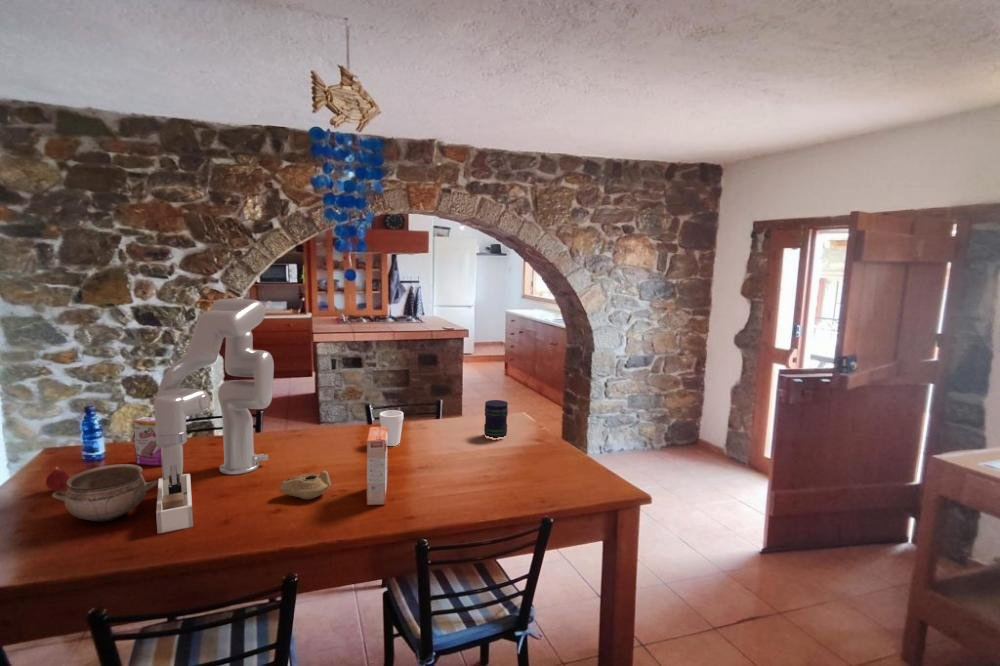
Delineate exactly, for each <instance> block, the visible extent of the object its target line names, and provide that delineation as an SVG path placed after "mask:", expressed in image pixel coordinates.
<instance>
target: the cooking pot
mask: <svg viewBox="0 0 1000 666" xmlns="http://www.w3.org/2000/svg"><path fill="white" fill-rule="evenodd" d="M142 473H143V468H142V467H141V466H139V465H138V464H128V463H123V464H122V463H121V464H120V463H119V464H110V465H103V466H98V467H97V466H96V467H93V468H90V469H87V470H84V471H81V472H78V473H76V474H74V475H72V476H71V477H70V478H69V479H68V480H67V483H66V484H67V486H68V488H67V490H66V491H62V490H61V491H57V492H56V491H54V492H53V493H51V496H52V498H54V499H57V500H58V501H62V502H64V505H65V506H64V507H65V508H66V509H67V511H68V513H70V515H72V516H74V517H75V518H78V519H82V520H86V521H90V522H91V521H92V522H98V523H99V522H100V523H106V522H110V521H114V520H117V519H119V518H121V517H122V516H123V515H125V514H127V513H128V512H130V511H131V510H133V509H135V508H136V507H137V506H138V505H140V503H141V502H142V501H143V500H144V498H145V495H146V493H147V491H149V490H151V489H153V488H154V487H155V486H158V483H159V480H153V481H150V482H149V481H148V482H146V481H145V480H146V479H145V478H144V476H143V475H142Z"/></svg>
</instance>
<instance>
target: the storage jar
mask: <svg viewBox="0 0 1000 666" xmlns="http://www.w3.org/2000/svg"><path fill="white" fill-rule="evenodd" d="M508 405H509V402H508V401H505V400H501V399H500V400H499V399H491V400H487V401H485V403H484V416H485V419H484V420H485V423H484V435H486V436H489V437H493V438H498V437H504V436H506V435H508V423H507V422H508V421H507V420H508V416H509V414H508V409H509V408H508Z"/></svg>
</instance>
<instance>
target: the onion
mask: <svg viewBox="0 0 1000 666" xmlns="http://www.w3.org/2000/svg"><path fill="white" fill-rule="evenodd" d="M69 478H71V477H70V474H69V473H68V472H67V471H66V470H64V469H61V468H59V467H58V466H55V468H54V470H53V471H51V472H50V473H49V474H48V475H47V477H46V480H45V485H46V487H47V488H48V489H50V490H51V491H54V492H57V491H62V490H64V489H65V488H66V487H67V486H68V485H67V484H66V483H67V480H68V479H69Z"/></svg>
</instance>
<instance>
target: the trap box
mask: <svg viewBox="0 0 1000 666" xmlns="http://www.w3.org/2000/svg"><path fill="white" fill-rule="evenodd" d="M180 483H181V490H182V492H183V494H184V506H183V507H177V508H171V509H166V510H162V498H163V495H169V488H168V485H169V478H168V479H167V480H165V481H164V480H163V477H159V478H158V484H157V486H158V487H157V498H156V500H157V501H156V509H155V510H156V511H155V512H156V513H155V515H156V516H155V517H156V527H157V528H156V529H157V534H163V533H168V532H173V531H177V530H183V529H184V530H185V529H189V528H193V527H194V519H193V518H194V517H193V516H194V515H193V500H192V483H191V473H182V477H181V478H180Z"/></svg>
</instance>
